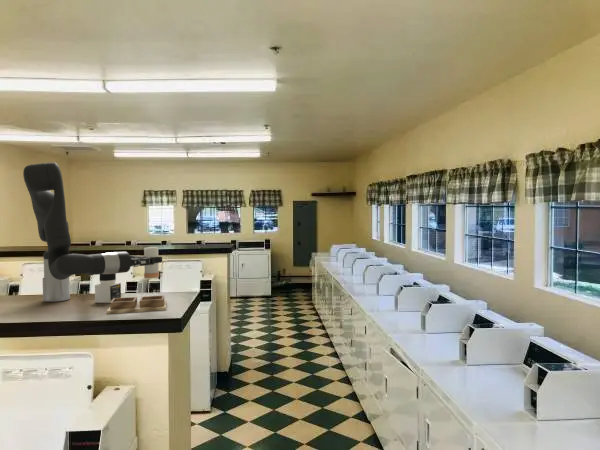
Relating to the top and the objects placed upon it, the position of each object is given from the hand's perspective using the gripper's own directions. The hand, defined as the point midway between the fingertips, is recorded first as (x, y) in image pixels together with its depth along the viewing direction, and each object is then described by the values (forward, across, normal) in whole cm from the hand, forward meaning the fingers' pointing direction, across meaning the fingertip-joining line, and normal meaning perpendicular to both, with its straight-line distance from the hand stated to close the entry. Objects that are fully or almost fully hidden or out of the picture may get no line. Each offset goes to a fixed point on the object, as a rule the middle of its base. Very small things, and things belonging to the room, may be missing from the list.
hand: (157, 259), depth 173 cm
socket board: (-7, +3, +18) cm, 19 cm away
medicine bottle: (-8, +25, +18) cm, 32 cm away
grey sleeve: (-3, 0, +6) cm, 7 cm away
